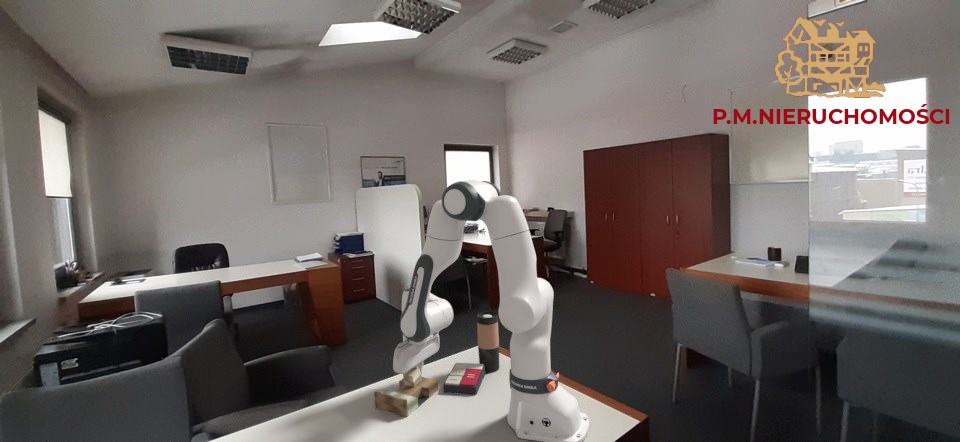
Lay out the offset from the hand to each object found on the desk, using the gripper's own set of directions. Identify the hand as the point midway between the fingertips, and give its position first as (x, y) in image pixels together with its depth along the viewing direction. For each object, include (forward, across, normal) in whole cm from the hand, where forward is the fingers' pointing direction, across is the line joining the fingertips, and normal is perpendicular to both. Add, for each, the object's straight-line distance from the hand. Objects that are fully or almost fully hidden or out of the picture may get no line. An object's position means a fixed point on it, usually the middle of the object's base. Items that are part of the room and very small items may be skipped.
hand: (418, 374), depth 130 cm
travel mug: (+5, +23, -15) cm, 27 cm away
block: (+1, -3, 0) cm, 3 cm away
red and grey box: (+5, +10, -12) cm, 17 cm away
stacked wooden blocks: (+5, -6, -1) cm, 8 cm away
